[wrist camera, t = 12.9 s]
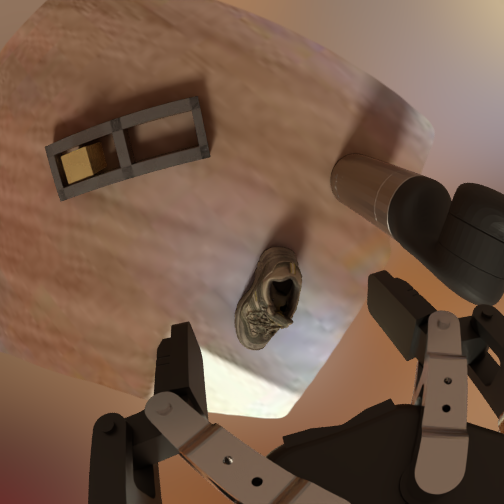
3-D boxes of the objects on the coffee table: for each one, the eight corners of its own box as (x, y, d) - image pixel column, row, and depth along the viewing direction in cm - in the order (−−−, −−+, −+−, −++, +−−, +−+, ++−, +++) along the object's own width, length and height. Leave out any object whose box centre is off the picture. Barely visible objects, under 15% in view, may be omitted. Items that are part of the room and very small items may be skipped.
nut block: (100, 141, 40) (85, 146, 33) (107, 166, 41) (93, 174, 35) (78, 150, 39) (60, 156, 33) (85, 174, 41) (68, 183, 35)
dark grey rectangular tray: (197, 97, 40) (197, 95, 37) (209, 154, 44) (210, 157, 41) (52, 144, 38) (44, 146, 35) (67, 196, 42) (60, 201, 39)
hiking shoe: (219, 342, 56) (260, 379, 48) (245, 237, 51) (299, 266, 43) (254, 333, 63) (295, 365, 55) (281, 238, 57) (333, 263, 49)
